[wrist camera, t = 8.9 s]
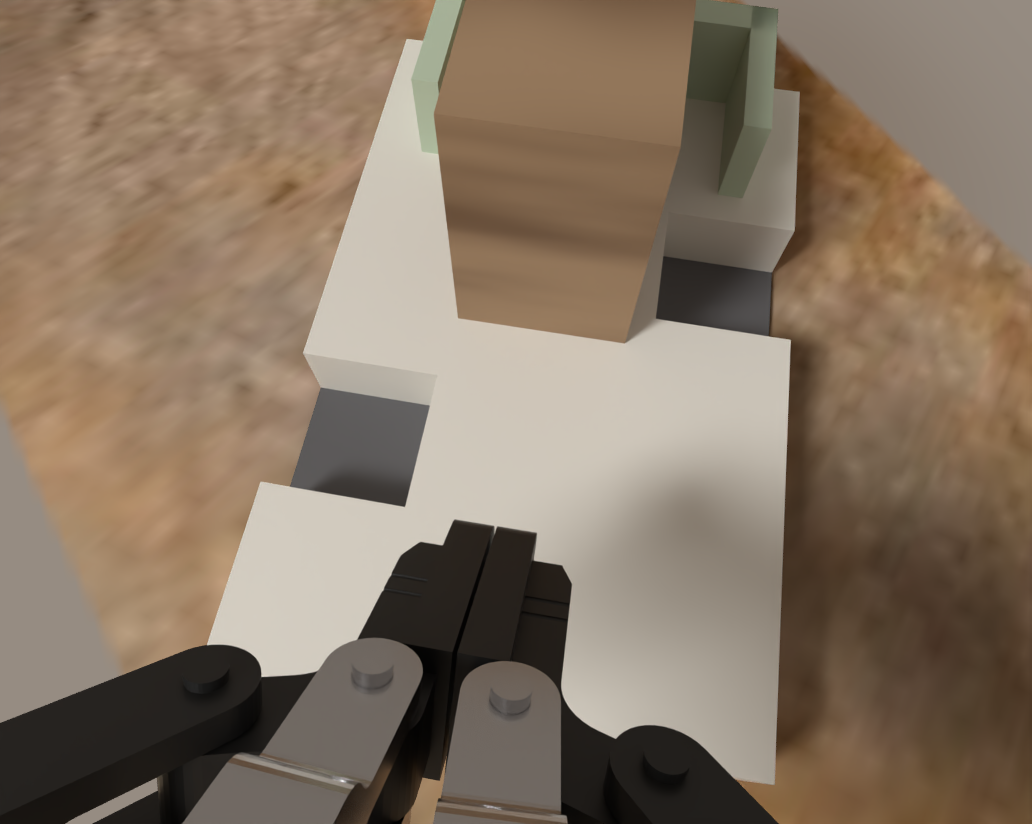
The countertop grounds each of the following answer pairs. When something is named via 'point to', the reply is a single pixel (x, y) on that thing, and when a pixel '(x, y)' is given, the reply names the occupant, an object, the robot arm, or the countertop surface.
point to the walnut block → (560, 156)
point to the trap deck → (560, 421)
